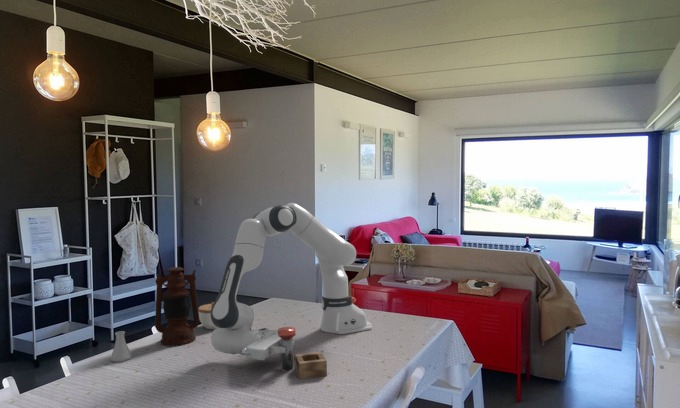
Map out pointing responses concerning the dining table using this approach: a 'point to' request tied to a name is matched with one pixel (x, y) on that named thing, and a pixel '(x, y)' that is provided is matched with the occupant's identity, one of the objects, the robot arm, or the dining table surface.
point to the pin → (287, 346)
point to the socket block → (310, 365)
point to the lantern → (176, 307)
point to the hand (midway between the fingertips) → (289, 346)
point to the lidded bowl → (206, 316)
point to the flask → (120, 349)
